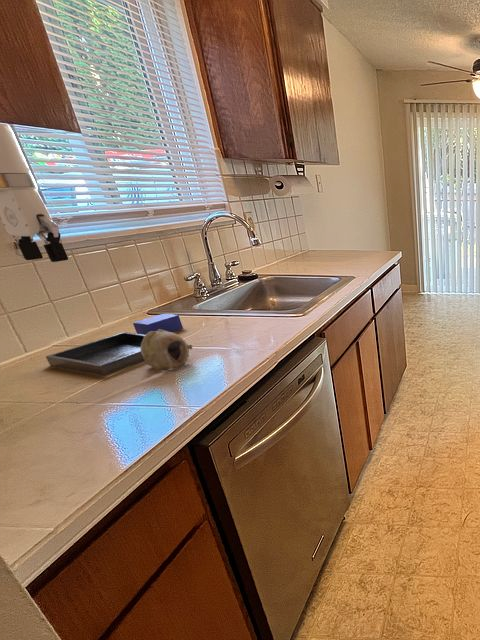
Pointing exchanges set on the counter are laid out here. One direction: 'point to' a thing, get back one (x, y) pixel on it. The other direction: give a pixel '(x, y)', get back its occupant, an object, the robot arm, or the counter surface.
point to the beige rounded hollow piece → (164, 350)
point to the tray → (101, 355)
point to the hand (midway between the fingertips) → (47, 260)
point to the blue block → (158, 324)
